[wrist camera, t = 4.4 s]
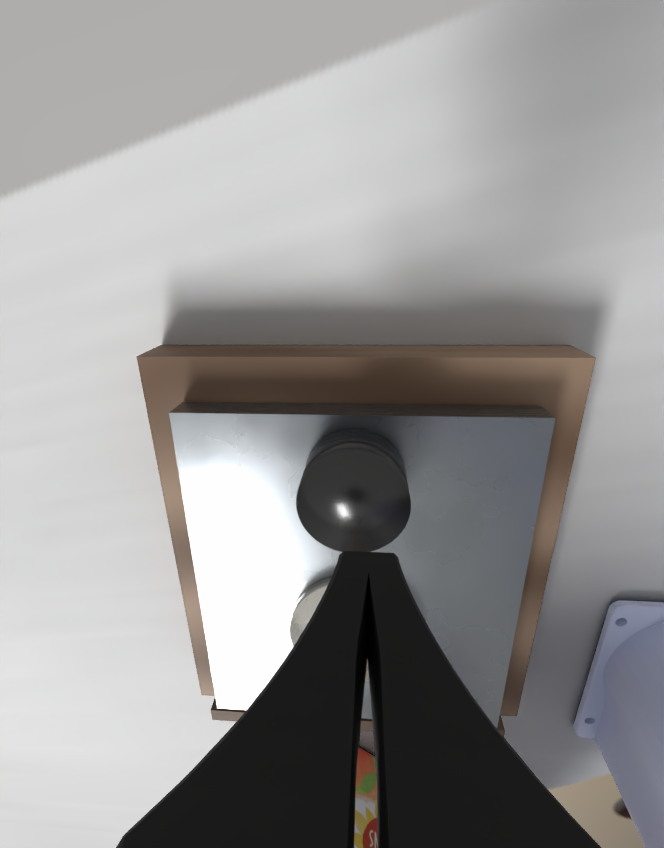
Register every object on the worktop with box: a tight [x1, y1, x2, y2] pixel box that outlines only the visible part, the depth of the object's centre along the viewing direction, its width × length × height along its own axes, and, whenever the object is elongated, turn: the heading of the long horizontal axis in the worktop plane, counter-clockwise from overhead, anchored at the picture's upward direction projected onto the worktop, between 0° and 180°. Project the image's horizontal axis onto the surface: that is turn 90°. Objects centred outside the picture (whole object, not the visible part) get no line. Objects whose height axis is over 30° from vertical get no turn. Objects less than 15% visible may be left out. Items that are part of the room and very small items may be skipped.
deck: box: [169, 402, 555, 728], centre depth 17 cm, size 15×13×3 cm
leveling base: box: [137, 345, 596, 737], centre depth 19 cm, size 18×16×3 cm
